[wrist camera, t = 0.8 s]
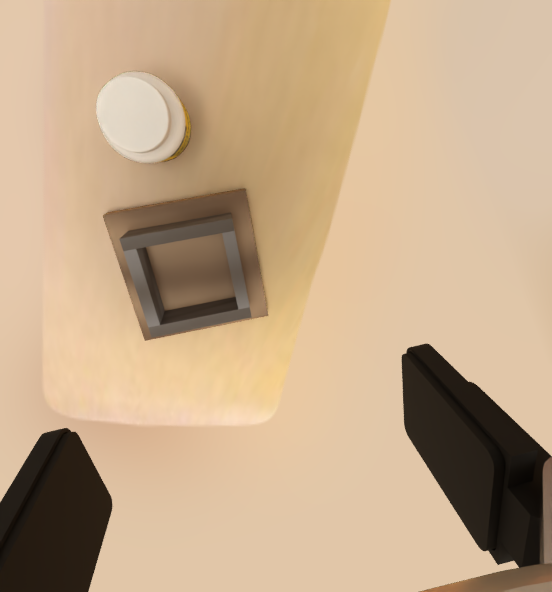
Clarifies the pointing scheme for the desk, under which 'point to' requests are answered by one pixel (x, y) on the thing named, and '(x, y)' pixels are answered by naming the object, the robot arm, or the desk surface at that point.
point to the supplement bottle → (143, 118)
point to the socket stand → (189, 263)
